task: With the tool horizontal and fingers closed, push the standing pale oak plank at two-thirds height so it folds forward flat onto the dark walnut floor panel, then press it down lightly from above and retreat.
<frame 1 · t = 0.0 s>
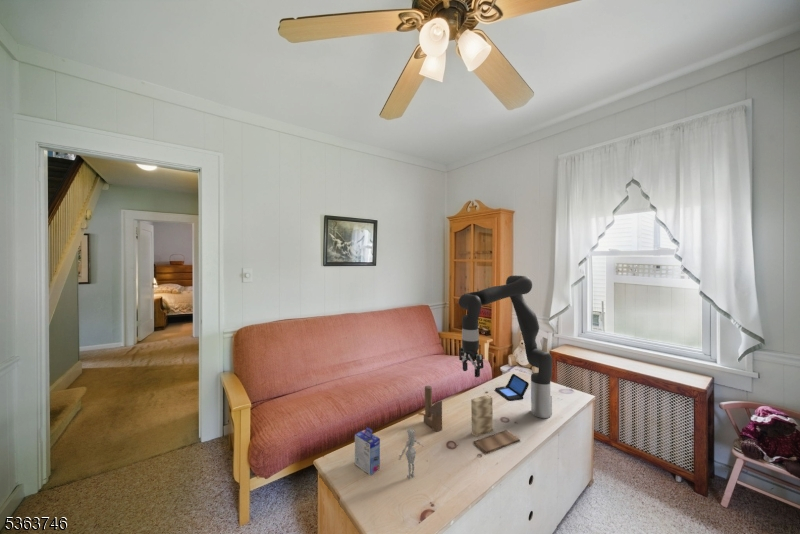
hand: (470, 373, 132), 29 cm above the table, tool pointing down, fingers open, 8 cm apart
human figurine: (411, 478, 109), on the table
ink cartridge box: (367, 467, 115), on the table
oak plank: (482, 432, 137), on the table
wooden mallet: (432, 426, 143), on the table
floor panel: (496, 442, 129), on the table
handheld game console: (511, 394, 175), on the table
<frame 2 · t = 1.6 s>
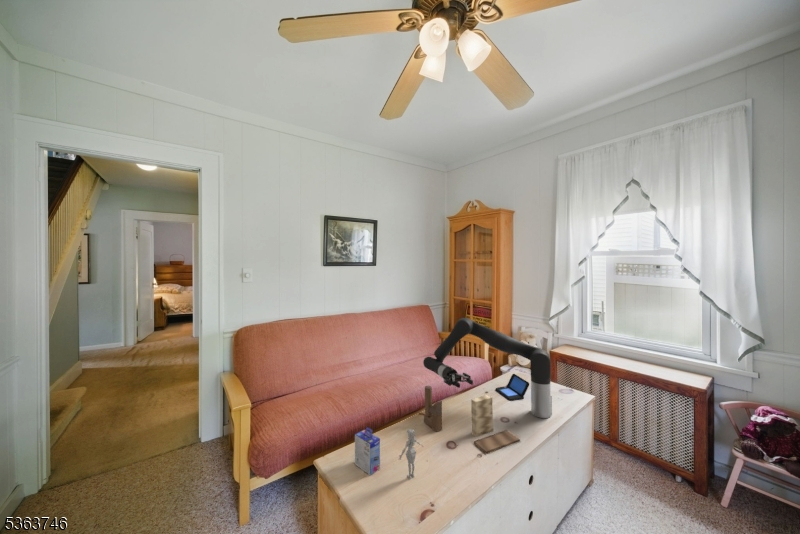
hand: (466, 384, 147), 18 cm above the table, tool horizontal, fingers open, 7 cm apart
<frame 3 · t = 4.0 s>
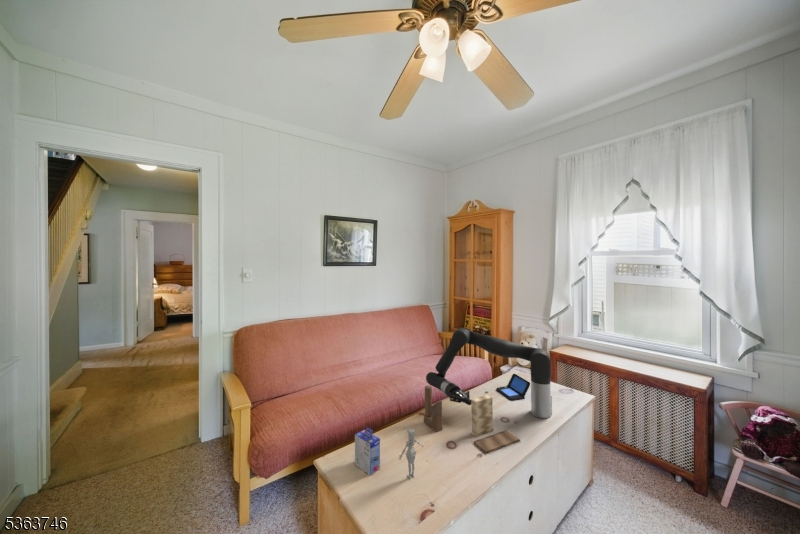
hand: (470, 403, 145), 10 cm above the table, tool horizontal, fingers closed
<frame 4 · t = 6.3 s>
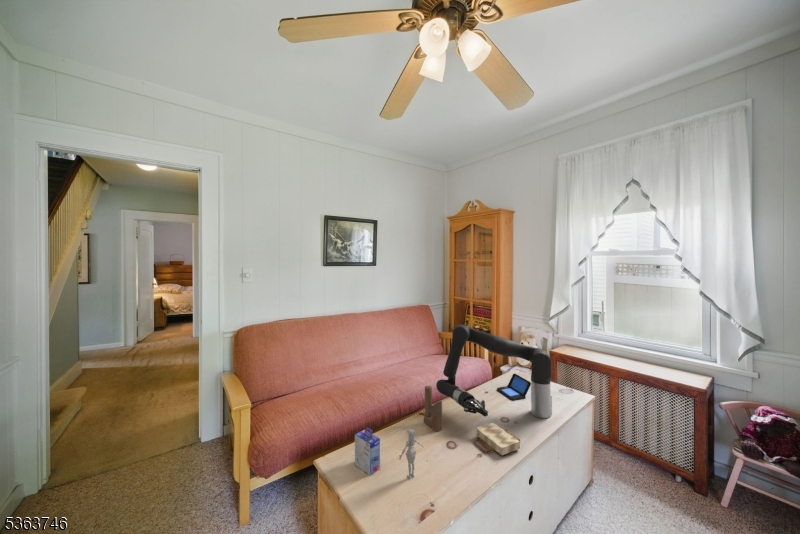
hand: (486, 414, 134), 10 cm above the table, tool horizontal, fingers closed
oak plank: (484, 428, 135), point 3 cm above the table, tilted 90°, touching floor panel
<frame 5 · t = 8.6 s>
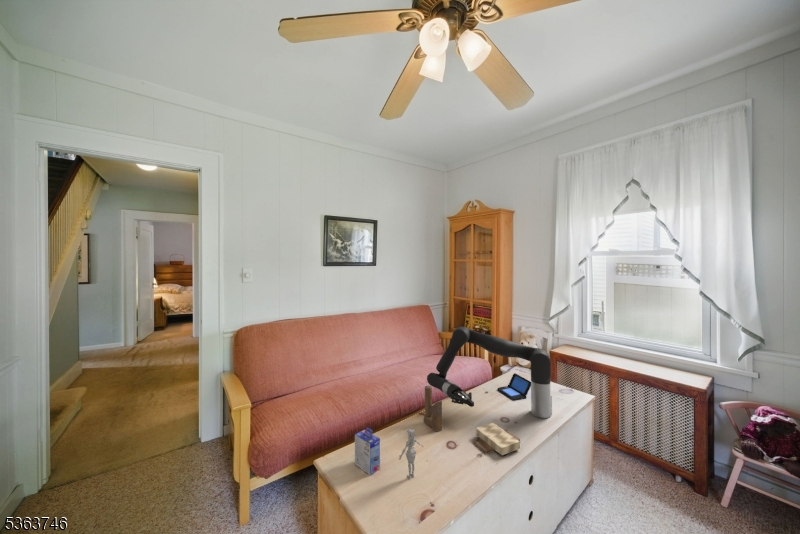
hand: (472, 404, 142), 10 cm above the table, tool horizontal, fingers closed
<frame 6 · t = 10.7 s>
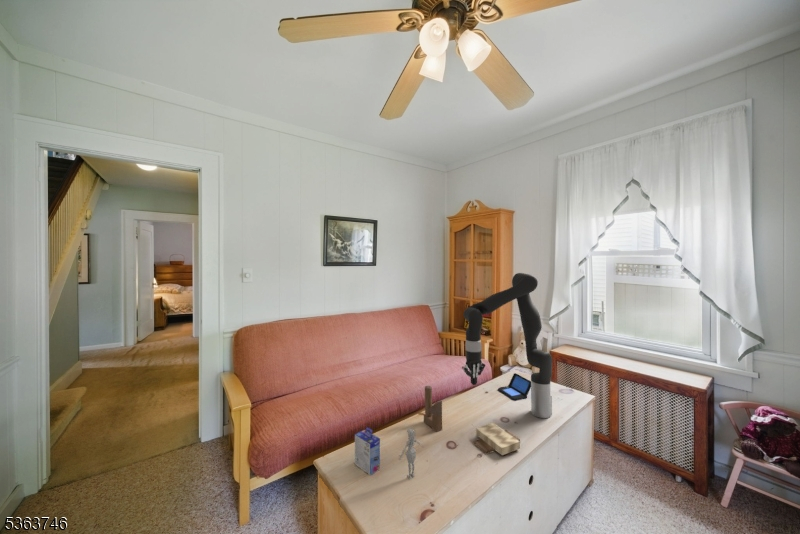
hand: (474, 384, 142), 20 cm above the table, tool pointing down, fingers closed
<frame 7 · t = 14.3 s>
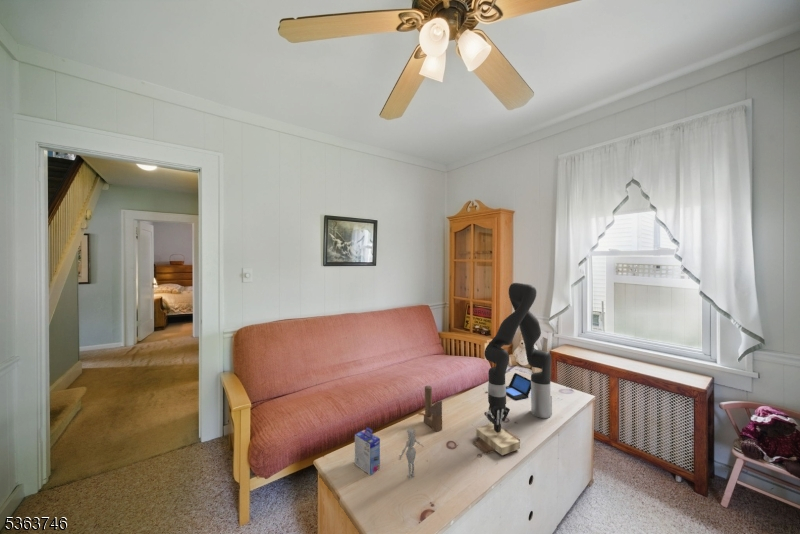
hand: (497, 431, 128), 6 cm above the table, tool pointing down, fingers closed
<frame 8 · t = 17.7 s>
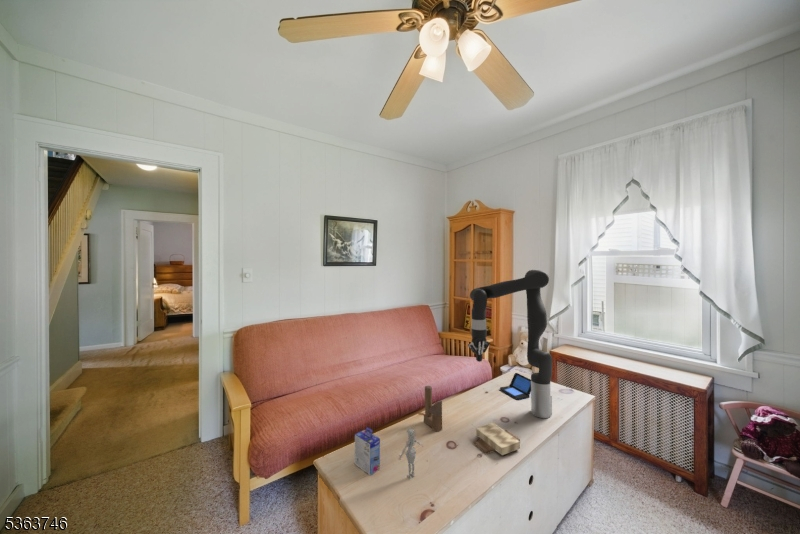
hand: (479, 361, 150), 29 cm above the table, tool pointing down, fingers closed
at the end: oak plank tilted 90°; oak plank inside the target area (8.3 cm from its centre), point 2.5 cm above the table; the gripper is holding nothing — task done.
